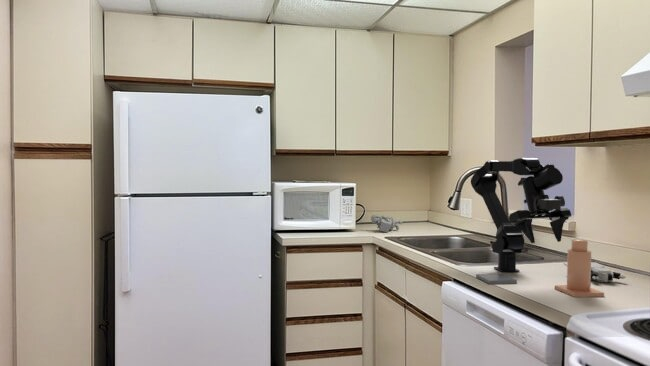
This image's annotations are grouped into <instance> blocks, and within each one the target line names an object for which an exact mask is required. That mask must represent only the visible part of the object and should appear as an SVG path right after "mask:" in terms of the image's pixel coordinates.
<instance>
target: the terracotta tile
mask: <svg viewBox="0 0 650 366" xmlns="http://www.w3.org/2000/svg"><path fill="white" fill-rule="evenodd" d="M554 289H555V290H557V291H559V292H561V291H562V292H561V293H563V294H567V295H568V294H569V295H568V296H571V297H574V298H584V297H585V298H586V297H587V298H589V297H605V292H604V291H600V290H599V289H595V288H592V287H590V291H586V292H583V291H574V290H570V289H568V288H567V284H561V285H560V284H557V285H556V284H555V285H554Z"/></svg>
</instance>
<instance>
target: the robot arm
mask: <svg viewBox="0 0 650 366" xmlns="http://www.w3.org/2000/svg"><path fill="white" fill-rule="evenodd" d="M489 172H492V174H491V173H489ZM500 172H510V173H513V174H515V175H518V176H527V177H521V178H520V180H519V181H518V183H517V186H518V187H519V186H522V187H523V192H524V193H523V194H524V197H525V199H524V200H523V202H524V203H523V204H526V205H527V208H528V209H520V210H516V211H513V212H511V213H510V214H509V216H507V213H506V211H505V209H504V207H503V205H502V203H501V200H500V198H499V196H498V195H497V191H496V190H497V185H498V184H497V181H498V180H499V178H500V177H499V176H500ZM563 179H564V177H563V173H561V171H560V169H558V168H557V167H555V165H554V163H547V164H546V165H543V164H542V163H541V161H540V159H539V158H536V157H519V158H515V159H513V160H509V161H507V160H504V161H503V160H487V161H485V162H484V164H483V166H481V167H480V168H479V169H477V170H476V171H475V172H474V173H473V175H472V177H471V178H470V185H471V187H472V189H473V191H474V192H475V193H476V194H478V196H480V197H481V198H482V199H483V201H484V203H485V206H486V208H487V210H488V213H489V215H490V217H491V218H492V221H493V223H494V226H495V228H496V234H495V239H496V240H495V241H494V243H493V244H492V245H491V249H492V252H493V253H495V254H497V266H493V269H495V270H497V271H500V272H501V273H508V272H509V273H513V272H514V273H516V272H518V273H520V272H521V271H520V270H519V269H517V268H516V266H517V257H516V256H517V254H522V252H523V249H524V245H525V238H524V235H525V237H526V238H527V239H528V240H529V242H530V243H531V244H535V242H536V241H535V236H534V230H533V227H532V223H533V220H534V219H535V220H536V219H549V220H550V222H549V225H550V227H551V230H552V232H553V235H554V237H555V239H556V241H557V242H558V243H559V242H561V241H562V235H563V227H564V225H565V222H566V221H567V220H569V218H571V217H572V211H571V210H570V208H565V206H566V201H565V200H566V199H565V198H564V196H563V195H556V196H555V197H554V198H550V196H549V195H548V194H545V191H547V190H549V189H550V188H553V187H555V186H558V185H560V184H561V183H562V182H563ZM562 207H564V208H562Z"/></svg>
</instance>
